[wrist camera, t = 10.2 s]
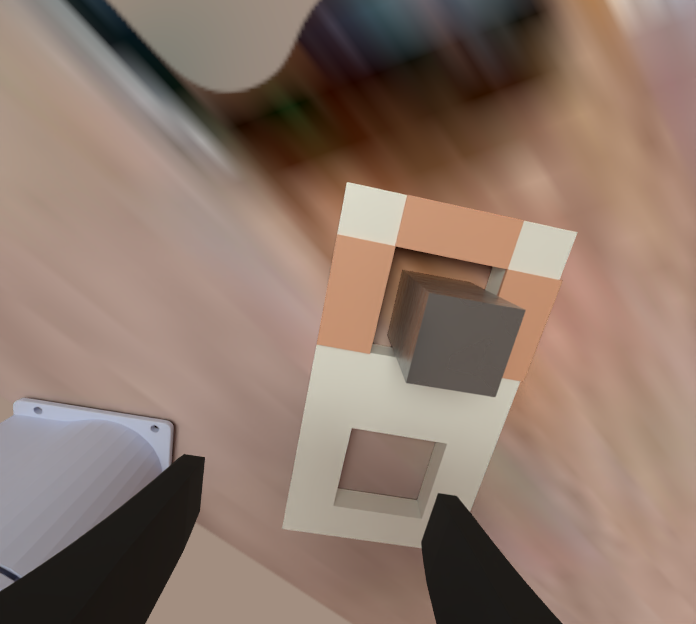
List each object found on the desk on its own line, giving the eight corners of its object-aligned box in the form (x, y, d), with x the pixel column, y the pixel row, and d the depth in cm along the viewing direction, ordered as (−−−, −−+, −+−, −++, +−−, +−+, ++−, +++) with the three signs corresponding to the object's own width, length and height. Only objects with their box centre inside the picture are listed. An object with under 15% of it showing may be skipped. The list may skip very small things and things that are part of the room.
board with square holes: (285, 509, 23) (281, 531, 21) (346, 185, 17) (347, 181, 15) (451, 533, 24) (459, 556, 22) (563, 232, 18) (585, 233, 16)
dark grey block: (387, 334, 20) (405, 383, 14) (402, 269, 18) (429, 292, 13) (451, 345, 20) (495, 397, 14) (469, 282, 19) (525, 310, 13)
